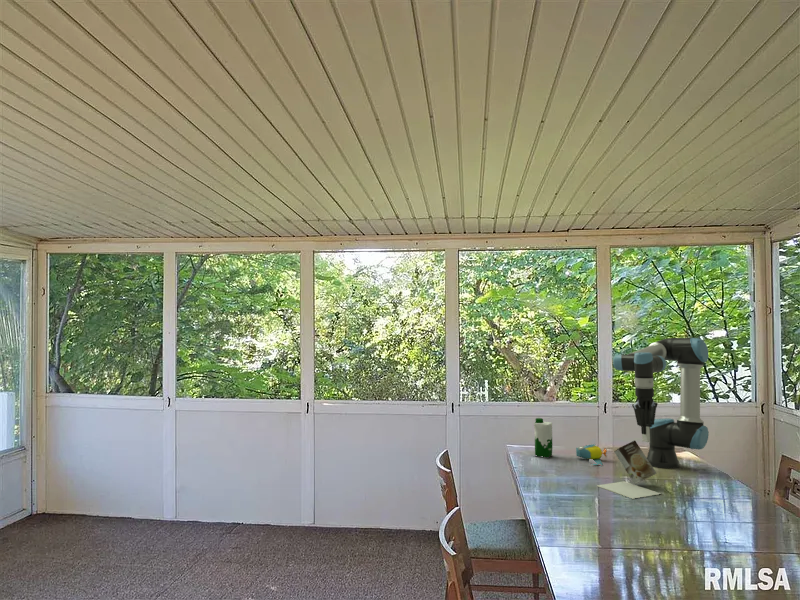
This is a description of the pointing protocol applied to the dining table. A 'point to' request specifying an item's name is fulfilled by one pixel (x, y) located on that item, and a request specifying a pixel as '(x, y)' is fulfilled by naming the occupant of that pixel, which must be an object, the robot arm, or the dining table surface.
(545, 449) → the milk carton
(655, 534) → the dining table surface
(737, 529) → the dining table surface
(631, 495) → the mat
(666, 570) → the dining table surface
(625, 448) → the coffee box
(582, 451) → the yellow teal toy
